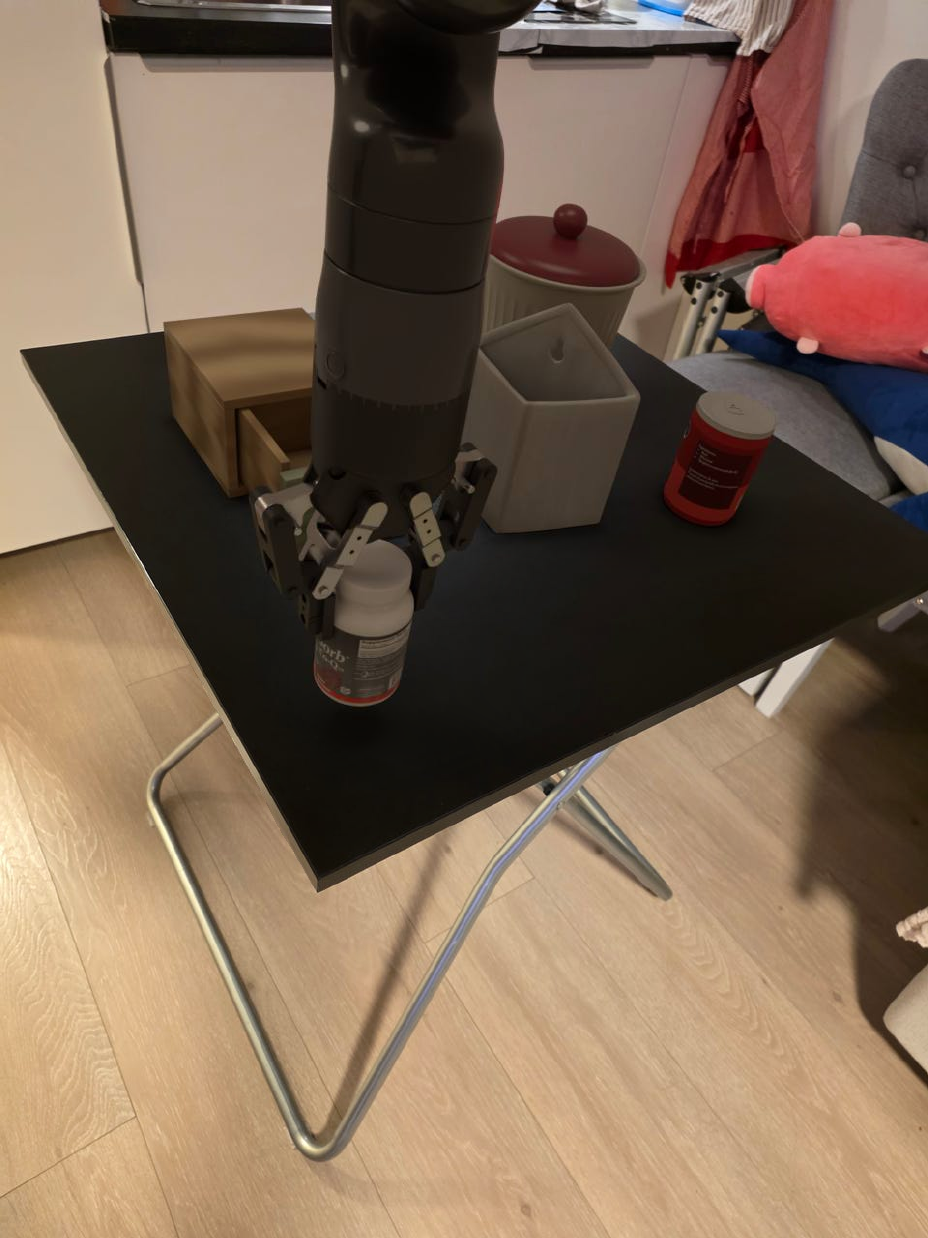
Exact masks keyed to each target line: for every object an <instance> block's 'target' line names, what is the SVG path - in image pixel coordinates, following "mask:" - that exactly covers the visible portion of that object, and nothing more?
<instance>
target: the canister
mask: <svg viewBox="0 0 928 1238" xmlns="http://www.w3.org/2000/svg"><path fill="white" fill-rule="evenodd" d="M588 222H589V218H588V214H587V212H586V210H585V209H584V208H583V207H581V205H578V204H575V203H563V204H561V205H559V206H558V207H557V208H556V209H555V211H554V213H553V216H548V215H519V216H512V217H508V218H504V219H502V220H499V221H498V222H496V225H495V231H494V236H493V242H492V247H491V253H490V258H489V264H488V269H487V273H486V283H485V294H484V315H483V327H482V333H481V334H484V333H486V332H489V331H491V330H494V329H496V328H499V327H501V326H503V325H506V324H509V323H511V322H514V321H517V320H520V319H522V318H525V317H528V316H531V315H534V314H536V313H539V312H542V311H545V310H547V309H550V308H553V307H556V306H559V305H562V304H565V303H571V304H573V305H574V306H575V308H576V309H577V310H578V311H579V312H580V314H581V315H582V316H583V318H584V319H585V320H586V321H587V323H588V324H589V325H590V327H591V328H592V329H593V331H594V332H595V333H596V335H597V336H598V337H599V338H600V340H601V341H602V342H603V344H604V345H605V346H606V348H607V349H608V350H609V351H611V348H612V347H613V343H614V341H615V338H616V337H617V333H618V331H619V330H620V329H619V328H620V326H621V324H622V322H623V319H624V316H625V314H626V312H627V310H628V307H629V305H630V302H631V299H632V297H633V294H634V292H635V290H636V288H637V287H639V286H641V285H642V283H643V282H644V281H645V280H646V278H647V274H648V273H647V271H648V270H647V267H646V265H645V263H644V262H643V260H642V259H641V257H639V256H638V255H637V254H636V253H635V251H634V250H633V249H632V248H631V247H630V246H629V245H628V244H627V243H626V242H624V241H623V240H621V239H620V238H618V237H617V236H615V235H614V234H612V233H609V232H608V231H605V230H603V229H600V228H598V227H595V226H594V225H593V226H592V225H589V224H588ZM562 347H563V342H562V341H558V345H557V347H556V348H555V349H554V350H553V351H552V358H554V359H555V360H556V361H561V360H562V359H563V352H562Z"/></svg>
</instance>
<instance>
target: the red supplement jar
mask: <svg viewBox="0 0 928 1238" xmlns="http://www.w3.org/2000/svg"><path fill="white" fill-rule="evenodd" d="M777 424H778V423H777V418H776V417H775V415H774V414H773V413H772V411H771V410H770V409H769V408H767V407H766V406H765V405H764V404H762V403H761V402H759V401H757V400H755V399H753V398H751V397H749V396H746V395H744V394H741V393H737V392H734V391H727V390H710V391H706V392H704V393H702V394H701V395H700V396H699V398H698V400H697V402H696V404H695V406H694V409H693V412H692V414H691V416H690V419H689V421H688V424H687V426H686V429H685V432H684V435H683V437H682V439H681V442H680V445H679V446H678V449H677V452H676V455H675V457H674V460H673V462H672V465H671V467H670V470H669V473H668V475H667V477H666V480H665V483H664V485H663V486H664V487H663V499H664V500H663V501H664V502H665V504H666V506H667V507H668V508H669V509H670V511H672V512H673V513H674V514H675V515H676V516H678V517H680V518H681V519H684V520H685V521H687V522H689V523H692V524H695V525H698V526H704V527H717V526H721V525H724V524H725V523H727V522H729V521H730V519H731V518H732V517H733V516H735V513H736V512H737V510H738V508H739V505H740V503H741V502H742V499H743V497H744V495H745V493H746V491H747V489H748V487H749V485H750V483H751V481H752V479H753V477H754V475H755V473H756V470H757V469H758V466H759V464H760V463H761V460H762V459H763V457H764V454H765V452H766V450H767V449H768V446H769V444H770V442H771V440H772V438H773V435H774V433H775V430H776V428H777Z"/></svg>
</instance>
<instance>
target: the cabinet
mask: <svg viewBox="0 0 928 1238" xmlns="http://www.w3.org/2000/svg"><path fill="white" fill-rule="evenodd" d="M162 323H163V334H164V342H165V352H166V353H165V354H166V361H167V362H166V363H167V370H168V380H169V391H170V399H171V408H172V409H171V410H172V417H173V418H174V420H175V421H176V423H177V424H178V425H179V427H180V429H181V430H182V432H183V433H184V434H185V436H186V437H187V439H188V440H189V442H190V443H191V444H192V447H194V449H195V450H196V452H197V453H198V455H199V456H200V457H201V460H203V462H204V464H205V465H206V466H207V468H208V469H209V471H210V472H211V474H212V476H213V477H214V478H215V480H216V482H217V483H218V484H219V486H220V487H221V488H222V490H223V491H224V493H225V495H227V497H228V499H233V498H238V497H243V496H247V495H249V494H250V491H249V490H248V488H247V487H246V485H245V484H244V483H243V481H242V480H241V478H240V477H239V476H238V473H237V451H236V430H235V409H236V408H242V407H248V406H254V405H260V404H266V403H272V402H278V401H284V400H290V399H296V398H302V397H308V396H312V378H313V354H314V328H315V318H313V317H312V316H311V315H310V314H309V312H307V311H306V310H305V309H304V308H303V307H292V308H284V309H283V308H282V309H275V310H274V309H273V310H265V311H264V310H263V311H255V312H254V311H253V312H247V313H246V312H245V313H235V314H228V315H227V314H226V315H215V316H207V317H199V318H197V317H196V318H188V319H180V320H179V319H178V320H171V321H169V320H168V321H163V322H162Z"/></svg>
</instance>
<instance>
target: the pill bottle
mask: <svg viewBox="0 0 928 1238" xmlns="http://www.w3.org/2000/svg"><path fill="white" fill-rule="evenodd" d="M411 574H412V565H411V562H410V559H409V558H408V556H407V555H406V554H405V552H404V551H403V549H401V548H400V547H398V546H397V545H395V544H393V543H391V542H389V541H387V540H383V539H379V540H377V541H375V542H373V543H369V544H366V545H365V546H364V548H363V550H362V552H361V554H360V556H359V557H358V559H357V561H356V563H355V565H354V566H353V567H352V568H346V569H345V570H344V571H343V573H342V575H341V577H340V579H339V581H338V582H337V584H336V586H335V588H334V590H333V592H334V593H335V595H336V602H335V614H334V627H333V637H332V638H331V639H328V640H325V641H322V642H320V641H319V640H318V639H317V637H316V636H315V649H314V660H313V673H314V674H313V675H314V679H315V682H316V684H317V686H318V687H319V689H320V691H321V692H322V693H324V694H325V695H326V696H327V697H329V698H330V699H331V700H333V701H335V702H337V703H339V704H343V705H346V706H350V707H369V706H373V705H378V704H379V703H382V702H384V701H386V700H387V699H389V698H390V697H391V696H392V695H393V694H394V693H395V691H396V690H397V688H398V687H399V684H400V682H401V679H402V674H403V669H404V665H405V658H406V653H407V648H408V643H409V637H410V631H411V626H412V622H413V617H414V612H413V610H414V599H413V595H412V592H411V590H410V588H409V586H410V581H411Z"/></svg>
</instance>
